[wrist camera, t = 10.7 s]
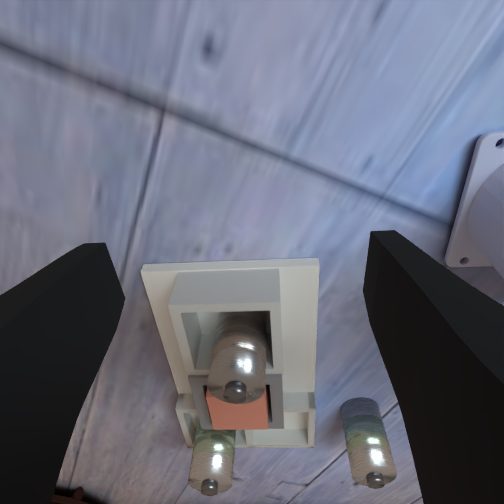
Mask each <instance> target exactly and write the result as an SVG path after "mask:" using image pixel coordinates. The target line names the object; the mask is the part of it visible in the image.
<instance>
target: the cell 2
mask: <svg viewBox="0 0 504 504" xmlns="http://www.w3.org/2000/svg"><path fill="white" fill-rule="evenodd" d="M341 416H342V421H343V428H344V434H345V440H346V446H347V452H348V457H349V462H350V467H351V473H352V478H353V480H354V481H355V482H357V483H359V484H361V485H366V486H368V487H370V488H373V489H377V488H382V487H383V486H384V485H385V484H387V483H389V482H391V481H393V480H394V479H395V478H396V476H397V473H396V469H395V466H394V462H393V458H392V455H391V450H390V446H389V442H388V439H387V435H386V431H385V428H384V424H383V421H382V417H381V414H380V410H379V406H378V404H377V403H376V402H375V401H374V400H372V399H369V398H354V399H351V400H348V401H346V402H345V403H344V404H343V405H342V406H341Z"/></svg>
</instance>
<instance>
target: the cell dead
mask: <svg viewBox="0 0 504 504" xmlns="http://www.w3.org/2000/svg"><path fill="white" fill-rule="evenodd" d="M266 348H267V313H266V311H233V312H220V313H219V318H218V324H217V328H216V334H215V339H214V345H213V350H212V356H211V364H210V369H209V375H208V381H207V388H208V391H209V392H210V393H211V394H212V395H213V396H214V397H215V398H217V399H219V400H221V401H224V402H227V403H232V404H246V403H251V402H254V401H256V400H258V399H259V398H260V397H261V396H262V395H263V394H264V391H265V371H266Z"/></svg>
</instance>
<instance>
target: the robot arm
mask: <svg viewBox="0 0 504 504" xmlns="http://www.w3.org/2000/svg"><path fill="white" fill-rule="evenodd" d="M502 138H503V142H502V143H501V144H500V145H499V146H496V143H497V141H498V140H500V139H502ZM465 257H466V258H465ZM462 258H465V259H464V260H461V259H462ZM460 260H461V261H460ZM445 262H446V264H447V265H448V266H449V267H453V268H454V267H484V266H493V267H494V268H495V270H496V271H497V272H498V273H499V274H500V276H501V277H502V278H503V279H504V131H493V132H487V133H484V134H483V135H481V136H480V138H479V139H478V141H477V143H476V146H475V150H474V154H473V157H472V161H471V165H470V168H469V172H468V175H467V179H466V183H465V186H464V190H463V193H462V197H461V201H460V204H459V208H458V212H457V215H456V219H455V222H454V226H453V230H452V233H451V237H450V240H449V244H448V248H447V251H446V255H445ZM363 293H364V298H365V303H366V308H367V313H368V317H369V321H370V325H371V328H372V331H373V333H374V336H375V339H376V342H377V345H378V347H379V350H380V353H381V356H382V358H383V361H384V364H385V367H386V369H387V372H388V375H389V378H390V380H391V383H392V386H393V389H394V391H395V394H396V397H397V400H398V403H399V406H400V409H401V413H402V416H403V420H404V423H405V427H406V431H407V435H408V439H409V443H410V447H411V451H412V455H413V459H414V464H415V468H416V472H417V476H418V481H419V485H420V489H421V494H422V498H423V502H424V504H504V306H503V305H501V304H500V303H498V302H496V301H495V300H493V299H491V298H490V297H488V296H487V295H485V294H484V293H482V292H480V291H479V290H477V289H476V288H474V287H473V286H471V285H470V284H468V283H467V282H465V281H464V280H462V279H461V278H459V277H458V276H456V275H455V274H454V273H452V272H451V271H449V270H448V269H446V268H445V267H444V266H442V265H441V264H440V263H438V262H437V261H436V260H434V259H433V258H431V257H430V256H429V255H427V254H426V253H425V252H423V251H422V250H421V249H420V248H418V247H417V246H416V245H414V244H413V243H412V242H410V241H409V240H408V239H406V238H405V237H404V236H402V235H401V234H399V233H398V232H396V231H395V230H389V231H371V233H370V241H369V248H368V256H367V264H366V271H365V279H364V287H363ZM124 301H125V296H124V293H123V291H122V288H121V285H120V282H119V280H118V277H117V274H116V271H115V268H114V266H113V263H112V260H111V257H110V255H109V252H108V249H107V246H106V243H85V244H82V245H80V246H78V247H76V248H75V249H73V250H71V251H69V252H68V253H66V254H65V255H63V256H61V257H60V258H58V259H57V260H55V261H53V262H52V263H50V264H49V265H47V266H46V267H44V268H43V269H41V270H40V271H38V272H37V273H35V274H33V275H32V276H30V277H29V278H27V279H26V280H24V281H23V282H21V283H20V284H18V285H16V286H15V287H13V288H12V289H10V290H8V291H7V292H5V293H3V294H2V295H0V504H51V500H52V497H53V493H54V490H55V487H56V483H57V480H58V477H59V473H60V470H61V467H62V463H63V460H64V457H65V454H66V451H67V448H68V445H69V442H70V439H71V436H72V433H73V430H74V427H75V424H76V421H77V418H78V416H79V413H80V411H81V408H82V406H83V403H84V401H85V399H86V396H87V394H88V392H89V390H90V388H91V385H92V383H93V381H94V379H95V377H96V374H97V372H98V370H99V368H100V366H101V363H102V361H103V359H104V357H105V355H106V352H107V350H108V348H109V346H110V343H111V341H112V339H113V336H114V334H115V332H116V329H117V326H118V323H119V320H120V316H121V313H122V309H123V305H124Z"/></svg>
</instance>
